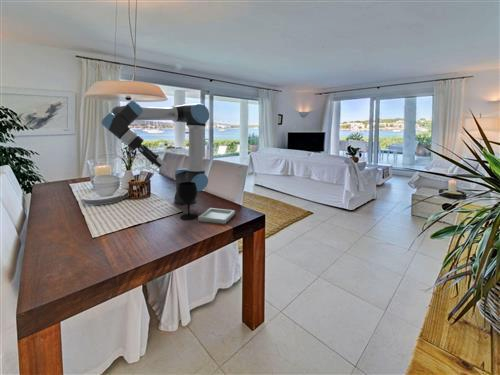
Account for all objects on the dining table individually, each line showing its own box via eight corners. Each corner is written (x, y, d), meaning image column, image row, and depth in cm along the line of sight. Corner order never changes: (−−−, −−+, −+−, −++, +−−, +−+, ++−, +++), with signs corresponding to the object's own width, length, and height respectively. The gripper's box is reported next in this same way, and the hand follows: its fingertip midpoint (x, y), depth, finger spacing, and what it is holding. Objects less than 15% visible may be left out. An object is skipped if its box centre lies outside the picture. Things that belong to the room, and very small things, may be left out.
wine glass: (200, 214, 149) (199, 181, 144) (195, 220, 139) (193, 186, 134) (183, 213, 150) (181, 181, 145) (177, 219, 140) (174, 185, 135)
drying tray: (210, 211, 153) (210, 207, 153) (234, 214, 149) (234, 210, 148) (198, 220, 138) (198, 216, 138) (225, 224, 134) (225, 219, 133)
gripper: (130, 143, 137) (161, 169, 145) (123, 147, 114) (160, 177, 122) (140, 134, 137) (170, 160, 146) (134, 135, 114) (171, 166, 123)
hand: (165, 168), depth 134 cm, fingers open, 13 cm apart
